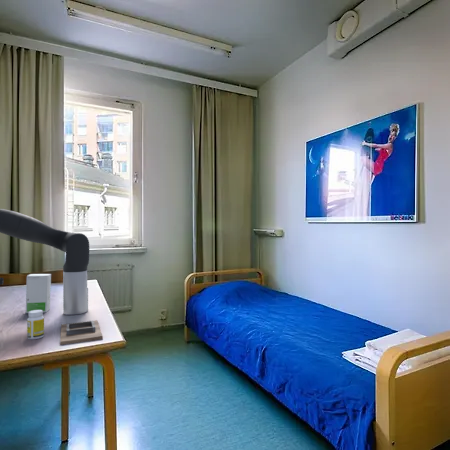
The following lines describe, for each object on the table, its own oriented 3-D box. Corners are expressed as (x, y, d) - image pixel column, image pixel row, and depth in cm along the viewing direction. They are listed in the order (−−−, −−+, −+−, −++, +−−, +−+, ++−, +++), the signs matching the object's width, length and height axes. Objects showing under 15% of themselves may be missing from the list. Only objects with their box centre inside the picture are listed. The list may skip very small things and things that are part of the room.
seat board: (61, 327, 118) (61, 320, 118) (97, 322, 123) (97, 316, 123) (60, 345, 100) (60, 336, 100) (102, 339, 105) (102, 331, 105)
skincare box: (25, 313, 137) (25, 276, 138) (29, 310, 144) (29, 273, 144) (47, 312, 140) (47, 275, 140) (51, 308, 146) (51, 273, 146)
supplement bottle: (46, 334, 110) (46, 309, 110) (39, 339, 105) (39, 312, 105) (32, 335, 110) (32, 309, 110) (24, 339, 105) (24, 313, 105)
